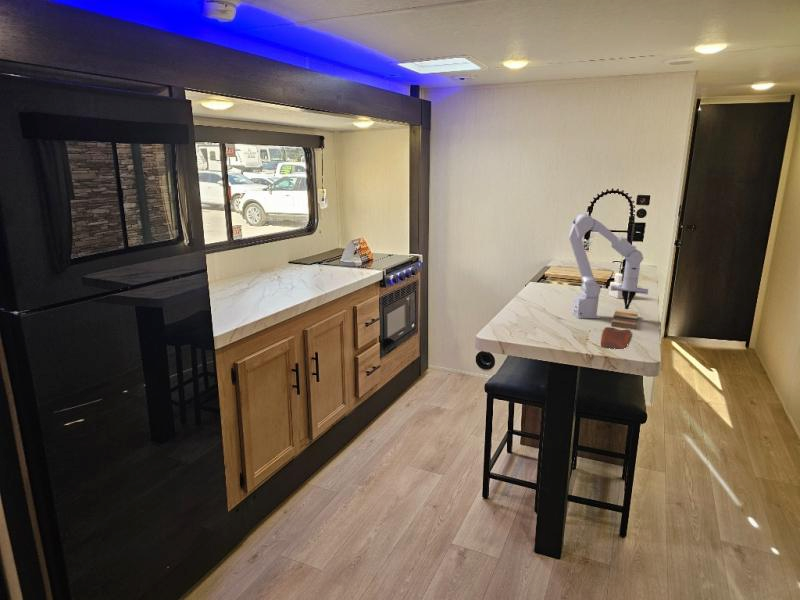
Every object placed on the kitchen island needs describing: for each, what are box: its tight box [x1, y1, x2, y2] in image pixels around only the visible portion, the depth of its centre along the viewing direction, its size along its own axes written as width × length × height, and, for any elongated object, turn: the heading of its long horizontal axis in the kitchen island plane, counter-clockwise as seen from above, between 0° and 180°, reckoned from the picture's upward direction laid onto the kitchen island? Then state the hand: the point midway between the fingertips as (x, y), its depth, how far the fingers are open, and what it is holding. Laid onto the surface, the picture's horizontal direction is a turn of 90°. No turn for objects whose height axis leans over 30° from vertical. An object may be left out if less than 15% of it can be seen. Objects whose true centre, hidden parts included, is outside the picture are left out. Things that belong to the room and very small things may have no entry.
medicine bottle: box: [608, 272, 629, 299], centre depth 261 cm, size 7×7×12 cm
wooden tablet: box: [600, 326, 632, 350], centre depth 197 cm, size 27×10×2 cm, turn 154°
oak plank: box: [613, 309, 639, 319], centre depth 224 cm, size 11×9×2 cm
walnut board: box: [610, 315, 638, 330], centre depth 214 cm, size 8×9×3 cm
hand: (626, 308), depth 223 cm, fingers closed
